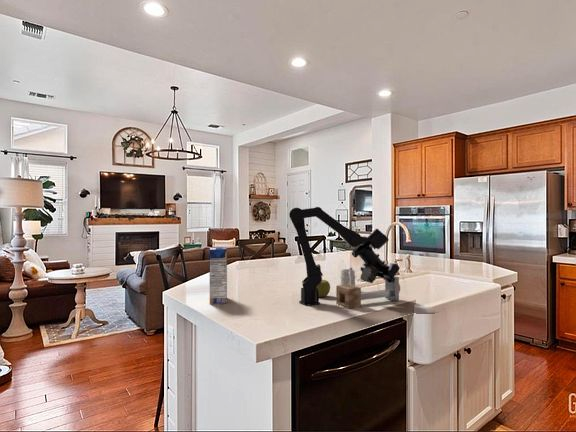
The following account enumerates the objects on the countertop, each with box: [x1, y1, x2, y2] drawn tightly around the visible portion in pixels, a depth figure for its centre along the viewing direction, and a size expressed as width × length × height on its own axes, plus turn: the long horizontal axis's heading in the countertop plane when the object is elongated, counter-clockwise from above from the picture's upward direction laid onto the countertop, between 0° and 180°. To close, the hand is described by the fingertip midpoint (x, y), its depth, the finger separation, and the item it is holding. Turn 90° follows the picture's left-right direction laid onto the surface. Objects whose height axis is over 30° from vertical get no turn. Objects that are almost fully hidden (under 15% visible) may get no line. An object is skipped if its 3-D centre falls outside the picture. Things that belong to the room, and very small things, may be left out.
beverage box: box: [209, 246, 228, 305], centre depth 150 cm, size 7×11×22 cm, turn 11°
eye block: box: [335, 284, 362, 309], centre depth 141 cm, size 6×8×8 cm
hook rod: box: [361, 275, 401, 301], centre depth 146 cm, size 24×6×10 cm, turn 116°
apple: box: [317, 279, 331, 298], centre depth 157 cm, size 8×8×7 cm
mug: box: [340, 266, 356, 286], centre depth 168 cm, size 8×12×12 cm, turn 5°
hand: (390, 281), depth 150 cm, fingers closed
